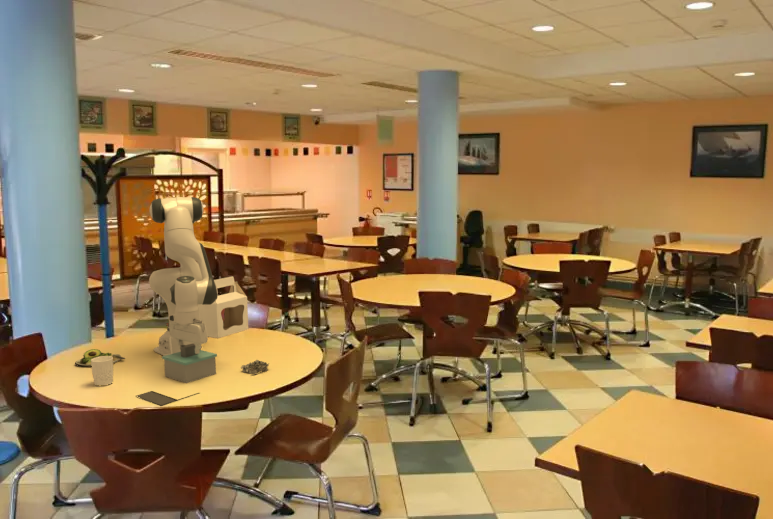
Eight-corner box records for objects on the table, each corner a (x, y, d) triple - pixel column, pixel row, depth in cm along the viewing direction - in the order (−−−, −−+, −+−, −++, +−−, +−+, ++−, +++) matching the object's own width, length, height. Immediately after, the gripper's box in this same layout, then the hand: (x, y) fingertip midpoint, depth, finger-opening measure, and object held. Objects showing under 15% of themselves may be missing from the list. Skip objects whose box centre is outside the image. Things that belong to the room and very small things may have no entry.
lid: (162, 361, 257) (161, 346, 256) (194, 353, 269) (193, 338, 268) (185, 368, 248) (184, 352, 247) (217, 359, 259) (216, 344, 259)
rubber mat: (135, 396, 237) (135, 395, 237) (173, 385, 249) (173, 384, 249) (161, 406, 227) (161, 404, 227) (199, 393, 240) (199, 392, 240)
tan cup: (96, 380, 256) (95, 356, 254) (117, 380, 256) (115, 355, 255) (89, 387, 248) (87, 362, 246) (110, 386, 249) (108, 361, 247)
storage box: (165, 378, 258) (164, 358, 257) (194, 369, 269) (193, 350, 268) (186, 385, 249) (185, 364, 248) (216, 375, 260) (215, 356, 259)
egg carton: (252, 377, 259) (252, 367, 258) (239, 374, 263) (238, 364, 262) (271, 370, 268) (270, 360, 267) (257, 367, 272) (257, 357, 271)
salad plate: (133, 356, 290) (133, 346, 289) (113, 369, 272) (112, 358, 271) (92, 356, 291) (92, 346, 291) (69, 368, 274) (69, 357, 273)
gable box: (230, 326, 344) (228, 274, 340) (249, 329, 337) (246, 276, 334) (198, 335, 325) (195, 280, 321) (217, 338, 318) (215, 282, 315)
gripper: (210, 319, 252) (212, 353, 254) (179, 312, 264) (181, 345, 266) (197, 322, 247) (198, 357, 249) (165, 315, 259) (167, 349, 261)
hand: (189, 351), depth 258 cm, fingers open, 8 cm apart
